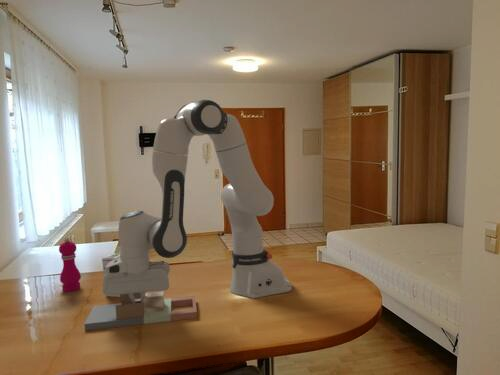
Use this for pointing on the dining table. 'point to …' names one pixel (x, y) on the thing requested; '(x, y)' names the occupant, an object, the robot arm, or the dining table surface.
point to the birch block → (153, 302)
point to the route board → (137, 313)
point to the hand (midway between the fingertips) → (138, 305)
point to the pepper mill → (69, 267)
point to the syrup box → (107, 260)
